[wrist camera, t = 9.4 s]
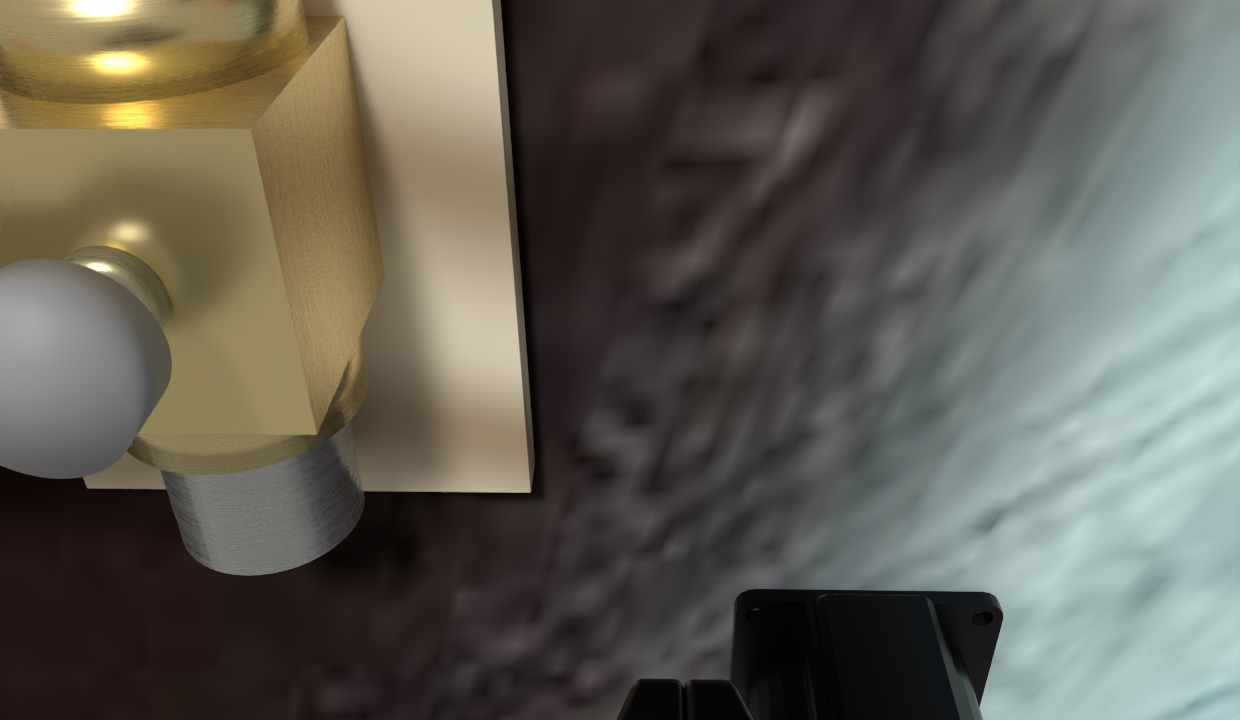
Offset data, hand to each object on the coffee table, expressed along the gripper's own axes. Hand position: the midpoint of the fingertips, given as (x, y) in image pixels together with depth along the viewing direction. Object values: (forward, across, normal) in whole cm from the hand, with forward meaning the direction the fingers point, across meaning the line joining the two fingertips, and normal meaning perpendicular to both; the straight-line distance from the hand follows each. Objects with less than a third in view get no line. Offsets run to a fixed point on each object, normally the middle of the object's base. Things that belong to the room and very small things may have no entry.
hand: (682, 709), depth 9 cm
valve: (+13, +8, 0) cm, 15 cm away
